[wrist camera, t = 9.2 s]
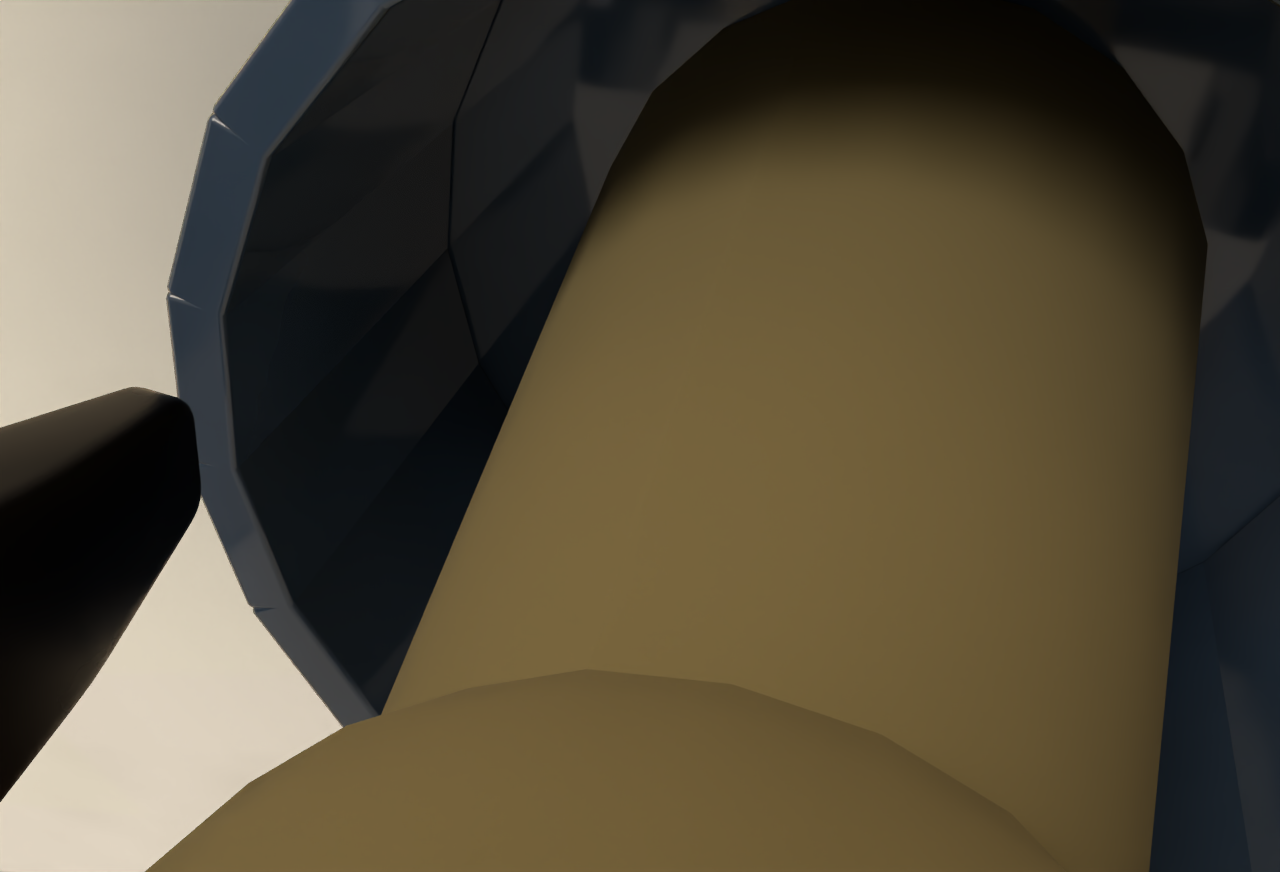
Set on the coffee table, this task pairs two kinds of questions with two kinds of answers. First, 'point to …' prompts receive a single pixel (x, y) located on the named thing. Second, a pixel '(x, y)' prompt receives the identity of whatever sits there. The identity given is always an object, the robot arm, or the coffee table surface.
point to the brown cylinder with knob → (812, 490)
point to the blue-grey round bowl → (530, 280)
